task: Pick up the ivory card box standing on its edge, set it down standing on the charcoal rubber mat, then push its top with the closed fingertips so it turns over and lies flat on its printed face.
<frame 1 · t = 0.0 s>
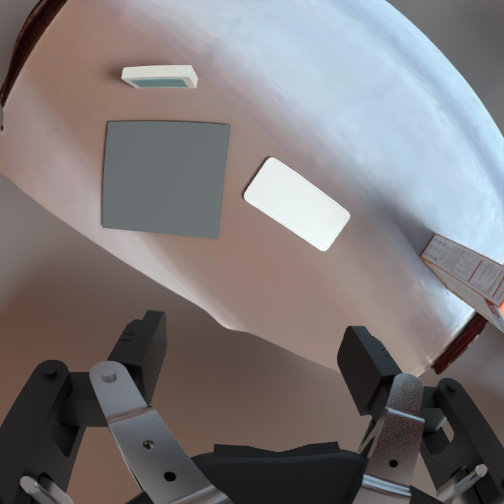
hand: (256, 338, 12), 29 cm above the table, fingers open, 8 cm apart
cracker box: (443, 263, 44), on the table
card box: (166, 83, 33), on the table
smartphone: (298, 205, 40), on the table
mat: (160, 177, 37), on the table
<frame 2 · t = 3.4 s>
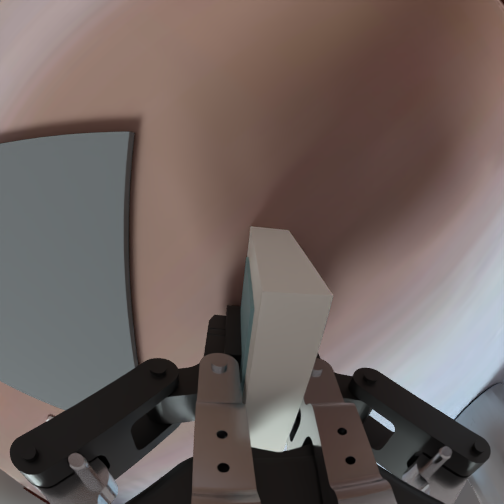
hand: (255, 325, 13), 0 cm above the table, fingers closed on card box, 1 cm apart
card box: (257, 321, 13), on the table, touching gripper
mat: (20, 298, 12), on the table
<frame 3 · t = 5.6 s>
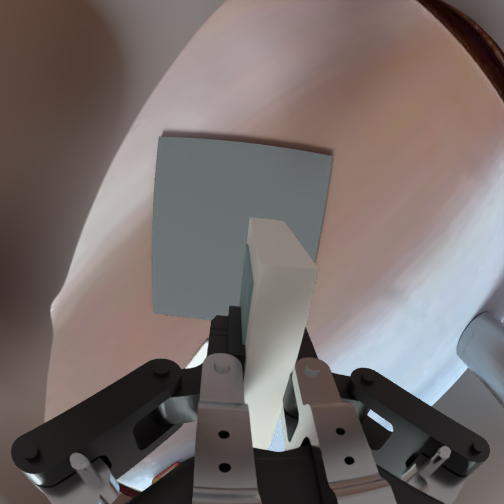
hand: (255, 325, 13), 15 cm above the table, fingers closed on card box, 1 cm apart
card box: (255, 303, 15), point 13 cm above the table, touching gripper
mat: (235, 238, 27), on the table
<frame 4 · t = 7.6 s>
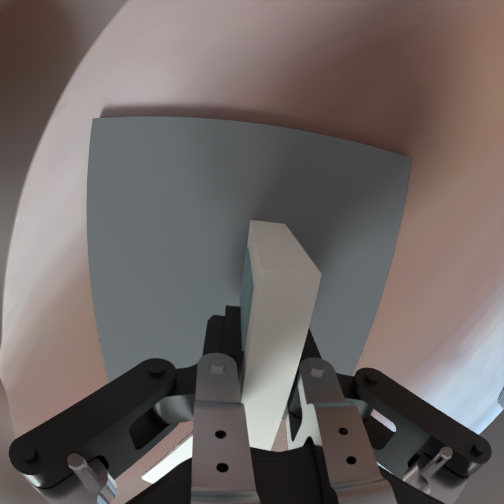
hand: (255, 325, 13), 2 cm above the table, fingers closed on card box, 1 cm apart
card box: (255, 308, 14), point 1 cm above the table, touching gripper, mat
smartphone: (196, 466, 21), on the table
mat: (235, 303, 15), on the table
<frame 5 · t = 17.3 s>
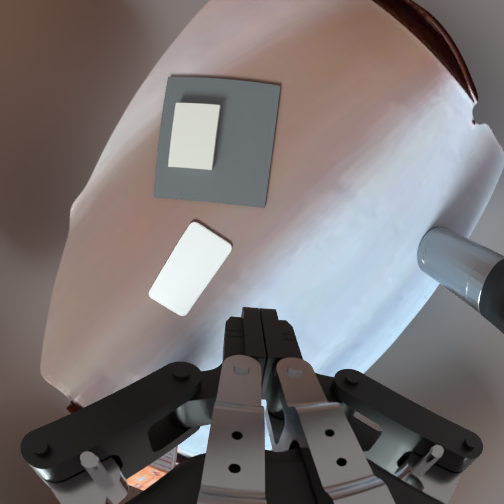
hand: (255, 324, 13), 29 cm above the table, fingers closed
cracker box: (162, 399, 52), on the table
card box: (216, 137, 35), point 1 cm above the table, tilted 90°, touching mat
smartphone: (188, 270, 43), on the table
mat: (215, 138, 37), on the table
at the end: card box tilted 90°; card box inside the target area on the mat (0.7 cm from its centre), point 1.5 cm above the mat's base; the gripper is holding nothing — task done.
